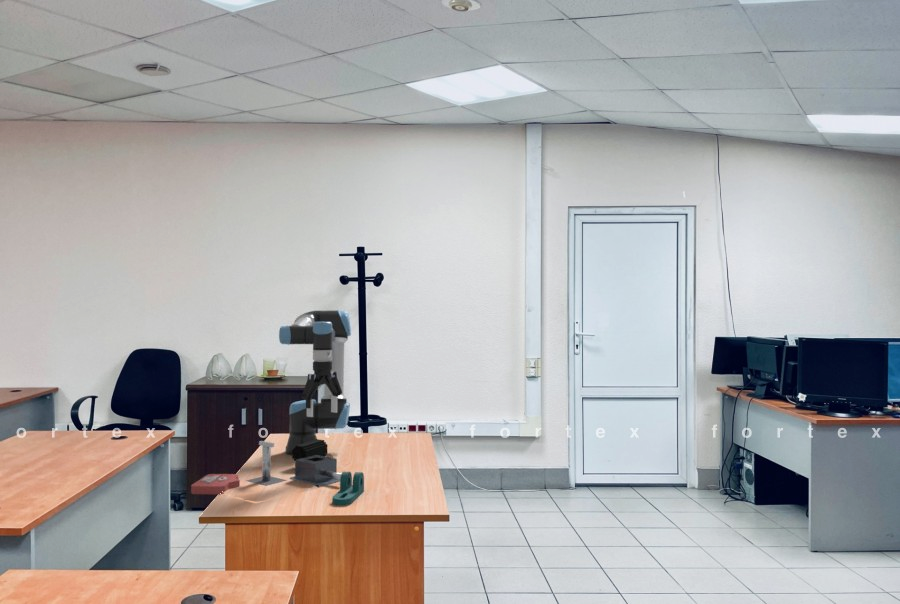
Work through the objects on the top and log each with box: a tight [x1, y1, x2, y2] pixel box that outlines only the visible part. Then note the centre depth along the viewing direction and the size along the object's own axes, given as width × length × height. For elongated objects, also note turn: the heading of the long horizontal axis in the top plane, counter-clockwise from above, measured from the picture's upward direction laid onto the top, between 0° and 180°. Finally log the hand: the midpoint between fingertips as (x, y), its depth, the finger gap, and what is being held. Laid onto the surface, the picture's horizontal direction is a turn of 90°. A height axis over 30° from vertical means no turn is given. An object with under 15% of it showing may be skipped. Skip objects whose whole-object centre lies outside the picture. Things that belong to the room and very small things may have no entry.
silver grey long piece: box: [258, 440, 275, 481], centre depth 264 cm, size 7×3×14 cm, turn 54°
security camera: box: [291, 438, 328, 462], centre depth 290 cm, size 7×18×10 cm, turn 155°
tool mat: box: [245, 476, 288, 487], centre depth 264 cm, size 12×10×1 cm
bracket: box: [331, 471, 365, 507], centre depth 243 cm, size 18×7×8 cm, turn 171°
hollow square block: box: [289, 455, 342, 488], centre depth 265 cm, size 22×12×8 cm, turn 54°
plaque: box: [190, 473, 241, 495], centre depth 256 cm, size 18×4×15 cm
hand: (322, 414), depth 277 cm, fingers open, 13 cm apart
